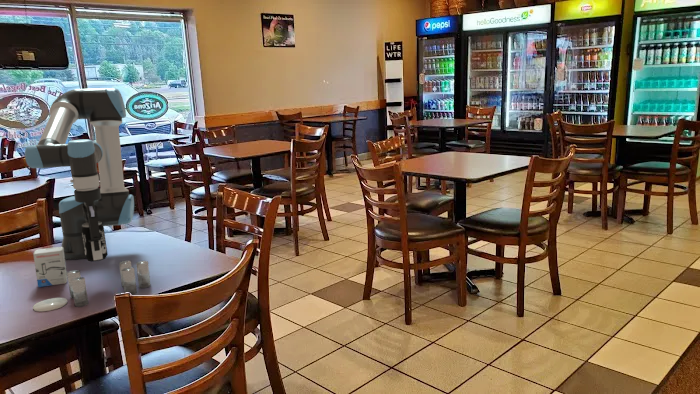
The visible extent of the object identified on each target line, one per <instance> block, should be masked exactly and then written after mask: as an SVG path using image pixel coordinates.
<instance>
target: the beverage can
mask: <svg viewBox="0 0 700 394" xmlns="http://www.w3.org/2000/svg"><path fill="white" fill-rule="evenodd" d="M98 225H99V231H100V237H101V240H100V242H101V249H102V256H103V259H100V260H93V253H92V246H91V242H89V240H91V235H90V230H89V224H88V223H84V224H83V225H82V226H83V227H82V229H81V231H82V237H83V244H84V250H85V257H86V258H85V259H86V260H87V261H88V262H99V261H102V260H105V259H106V258H107V257H108V254H109V253H108V248H107V241H106V235H105V226H103V225H102V222H99V221H98Z"/></svg>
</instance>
